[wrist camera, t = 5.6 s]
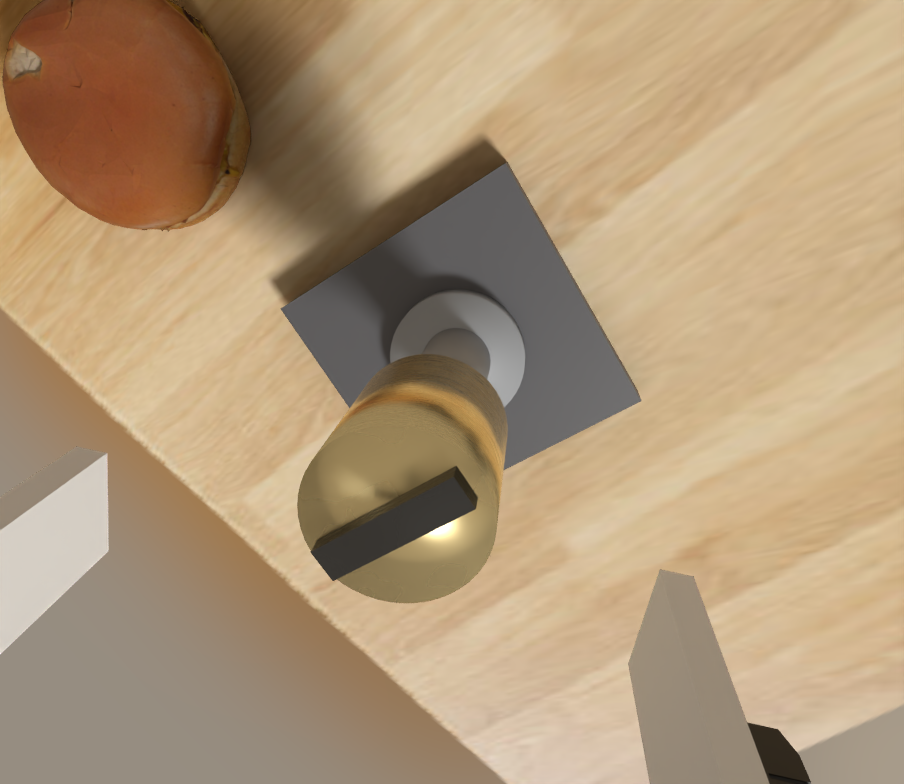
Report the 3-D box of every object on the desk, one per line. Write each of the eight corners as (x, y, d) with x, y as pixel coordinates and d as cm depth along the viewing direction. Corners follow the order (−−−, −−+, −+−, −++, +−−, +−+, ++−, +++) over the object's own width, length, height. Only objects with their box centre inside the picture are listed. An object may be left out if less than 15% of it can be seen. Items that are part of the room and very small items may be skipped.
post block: (507, 162, 29) (491, 171, 20) (637, 389, 32) (676, 491, 23) (291, 301, 33) (192, 365, 23) (426, 496, 35) (384, 623, 26)
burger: (249, 242, 32) (203, 257, 28) (63, 203, 33) (-11, 212, 28) (266, 8, 29) (216, -16, 24) (57, -31, 29) (-28, -62, 25)
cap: (453, 325, 22) (418, 397, 16) (536, 453, 23) (534, 567, 17) (326, 401, 23) (248, 494, 17) (410, 518, 24) (366, 645, 18)
